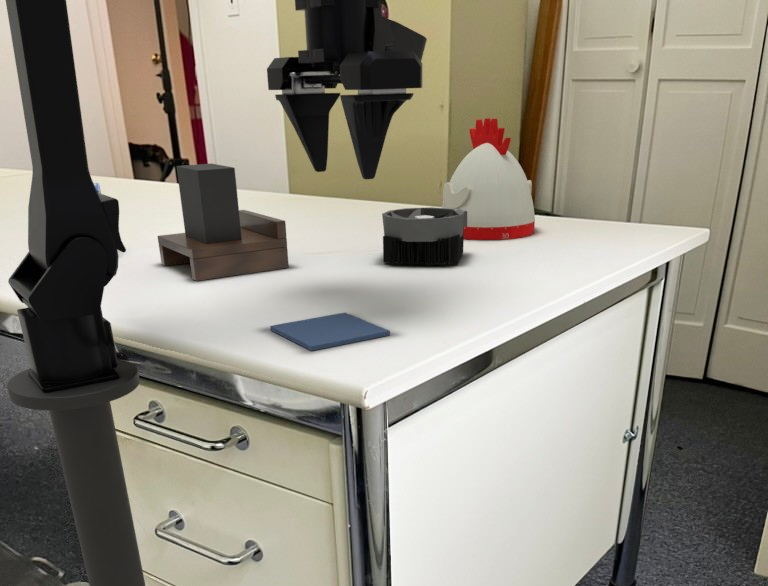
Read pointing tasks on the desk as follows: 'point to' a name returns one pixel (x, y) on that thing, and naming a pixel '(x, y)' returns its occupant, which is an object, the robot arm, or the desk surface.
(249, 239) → the desk shelf
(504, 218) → the kitchen timer
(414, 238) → the cpu cooler
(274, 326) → the rubber mat
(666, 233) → the desk surface
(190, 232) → the dark grey block
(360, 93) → the robot arm
